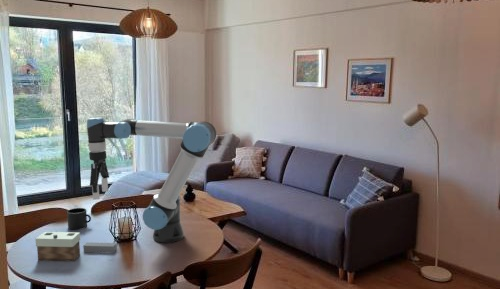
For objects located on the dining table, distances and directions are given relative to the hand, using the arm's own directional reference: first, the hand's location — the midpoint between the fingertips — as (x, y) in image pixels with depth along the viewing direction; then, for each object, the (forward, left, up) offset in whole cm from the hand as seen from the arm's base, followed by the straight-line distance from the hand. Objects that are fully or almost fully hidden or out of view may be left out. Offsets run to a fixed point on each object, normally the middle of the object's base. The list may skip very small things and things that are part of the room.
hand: (101, 195), depth 201 cm
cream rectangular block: (+13, +17, -17) cm, 28 cm away
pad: (-2, +8, -24) cm, 26 cm away
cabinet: (+13, +17, -24) cm, 33 cm away
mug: (+20, -22, -25) cm, 39 cm away
